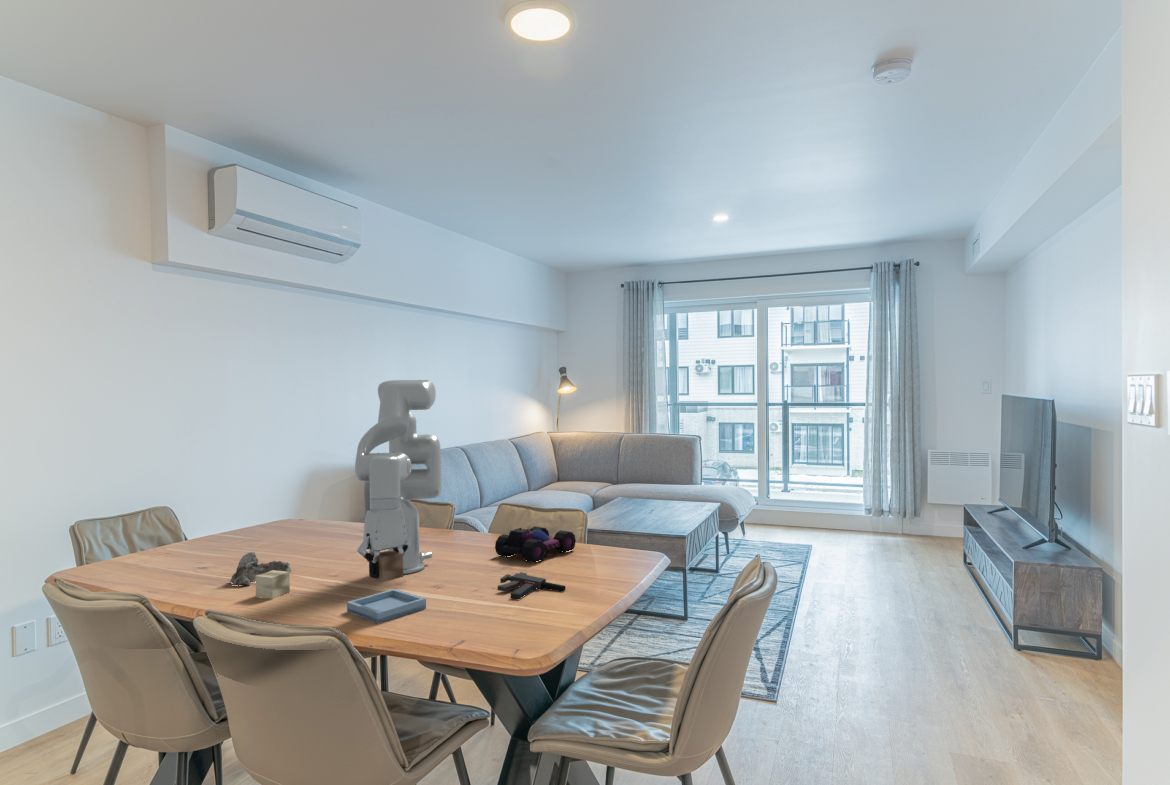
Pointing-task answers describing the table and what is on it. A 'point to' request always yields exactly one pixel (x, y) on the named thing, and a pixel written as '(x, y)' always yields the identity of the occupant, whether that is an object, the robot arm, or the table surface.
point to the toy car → (533, 543)
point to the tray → (386, 605)
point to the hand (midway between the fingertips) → (386, 574)
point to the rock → (255, 569)
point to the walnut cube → (389, 565)
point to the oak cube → (272, 584)
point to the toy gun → (525, 584)
